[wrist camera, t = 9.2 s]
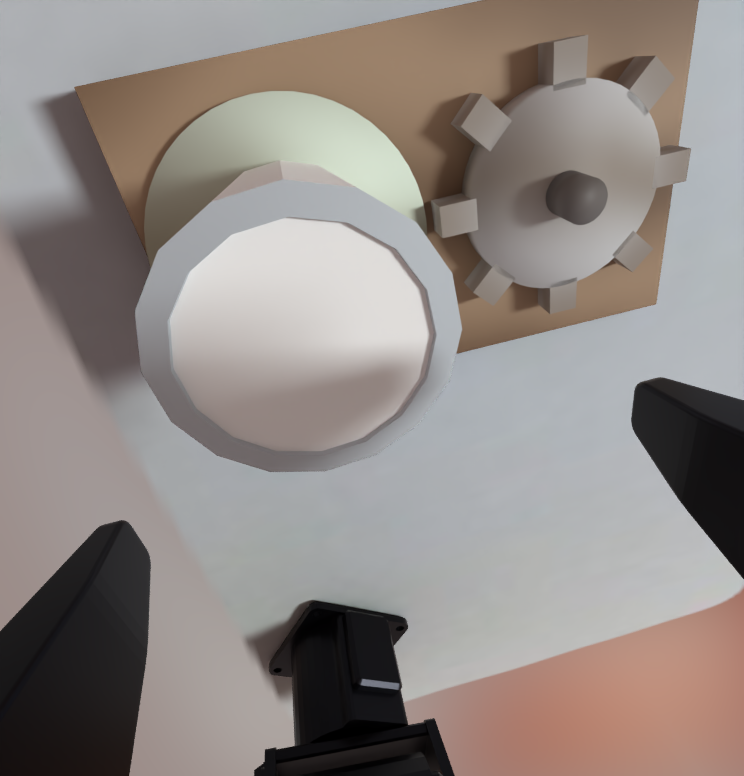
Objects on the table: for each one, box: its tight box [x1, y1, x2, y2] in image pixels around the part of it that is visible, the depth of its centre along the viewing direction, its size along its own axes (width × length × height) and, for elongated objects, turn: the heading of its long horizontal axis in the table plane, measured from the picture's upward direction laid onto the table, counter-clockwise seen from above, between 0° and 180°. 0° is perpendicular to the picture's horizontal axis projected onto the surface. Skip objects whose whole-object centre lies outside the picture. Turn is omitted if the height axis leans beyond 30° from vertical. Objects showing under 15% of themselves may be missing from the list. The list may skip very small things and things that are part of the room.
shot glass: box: [135, 160, 462, 472], centre depth 14 cm, size 7×7×7 cm
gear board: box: [74, 0, 699, 354], centre depth 17 cm, size 11×18×4 cm, turn 100°
